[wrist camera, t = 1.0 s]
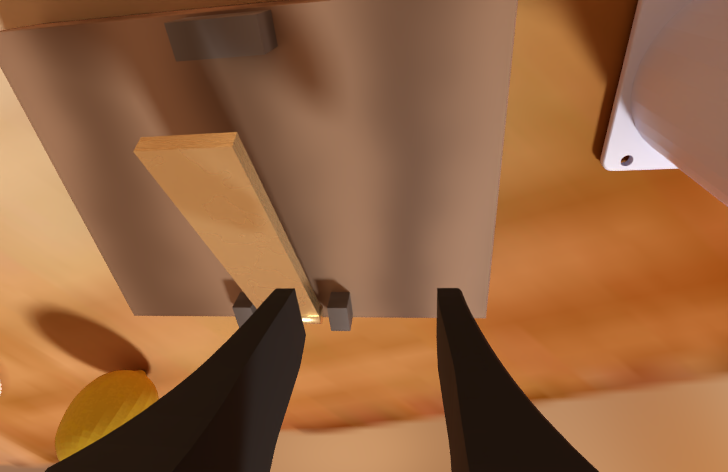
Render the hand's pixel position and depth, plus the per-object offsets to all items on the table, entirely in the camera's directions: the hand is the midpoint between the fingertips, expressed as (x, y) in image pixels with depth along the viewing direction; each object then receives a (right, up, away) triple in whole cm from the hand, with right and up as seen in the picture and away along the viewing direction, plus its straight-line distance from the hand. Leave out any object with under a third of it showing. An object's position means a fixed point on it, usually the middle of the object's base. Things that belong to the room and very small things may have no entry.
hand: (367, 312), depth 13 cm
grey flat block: (-4, +6, +9) cm, 11 cm away
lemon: (-17, -8, +20) cm, 28 cm away
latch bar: (-5, +2, +5) cm, 7 cm away
